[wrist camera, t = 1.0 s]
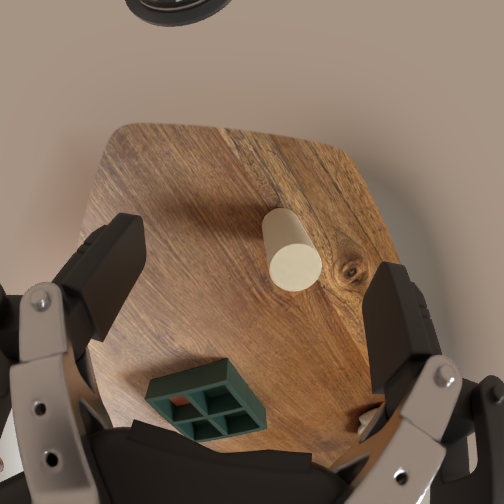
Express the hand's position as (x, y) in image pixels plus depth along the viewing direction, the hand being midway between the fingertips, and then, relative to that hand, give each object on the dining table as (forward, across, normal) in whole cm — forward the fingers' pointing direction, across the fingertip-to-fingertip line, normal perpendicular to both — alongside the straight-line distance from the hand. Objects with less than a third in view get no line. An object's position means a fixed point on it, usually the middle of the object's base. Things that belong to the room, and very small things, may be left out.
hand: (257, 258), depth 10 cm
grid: (+11, +4, +38) cm, 40 cm away
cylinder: (+19, -2, +11) cm, 22 cm away
